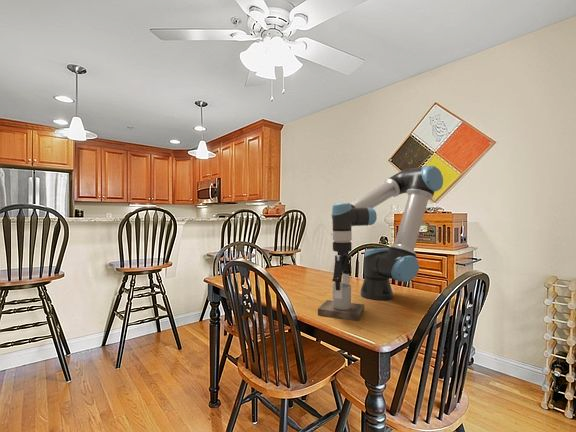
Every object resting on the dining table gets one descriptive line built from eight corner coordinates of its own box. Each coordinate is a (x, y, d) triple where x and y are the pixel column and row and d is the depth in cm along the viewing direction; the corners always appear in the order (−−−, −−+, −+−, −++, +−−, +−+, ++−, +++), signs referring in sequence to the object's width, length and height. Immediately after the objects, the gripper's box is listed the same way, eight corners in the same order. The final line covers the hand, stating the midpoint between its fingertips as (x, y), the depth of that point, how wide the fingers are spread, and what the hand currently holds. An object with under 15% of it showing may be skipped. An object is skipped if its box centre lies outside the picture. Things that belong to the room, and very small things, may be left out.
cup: (333, 310, 117) (333, 287, 117) (331, 302, 127) (331, 281, 127) (352, 310, 117) (352, 287, 117) (348, 302, 127) (348, 281, 127)
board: (364, 310, 125) (364, 304, 125) (358, 321, 113) (358, 314, 113) (326, 305, 131) (326, 299, 131) (317, 315, 119) (317, 308, 119)
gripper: (340, 238, 134) (340, 285, 135) (324, 244, 112) (324, 301, 112) (357, 238, 132) (357, 286, 132) (344, 245, 109) (344, 303, 109)
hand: (342, 293), depth 122 cm, fingers open, 13 cm apart
